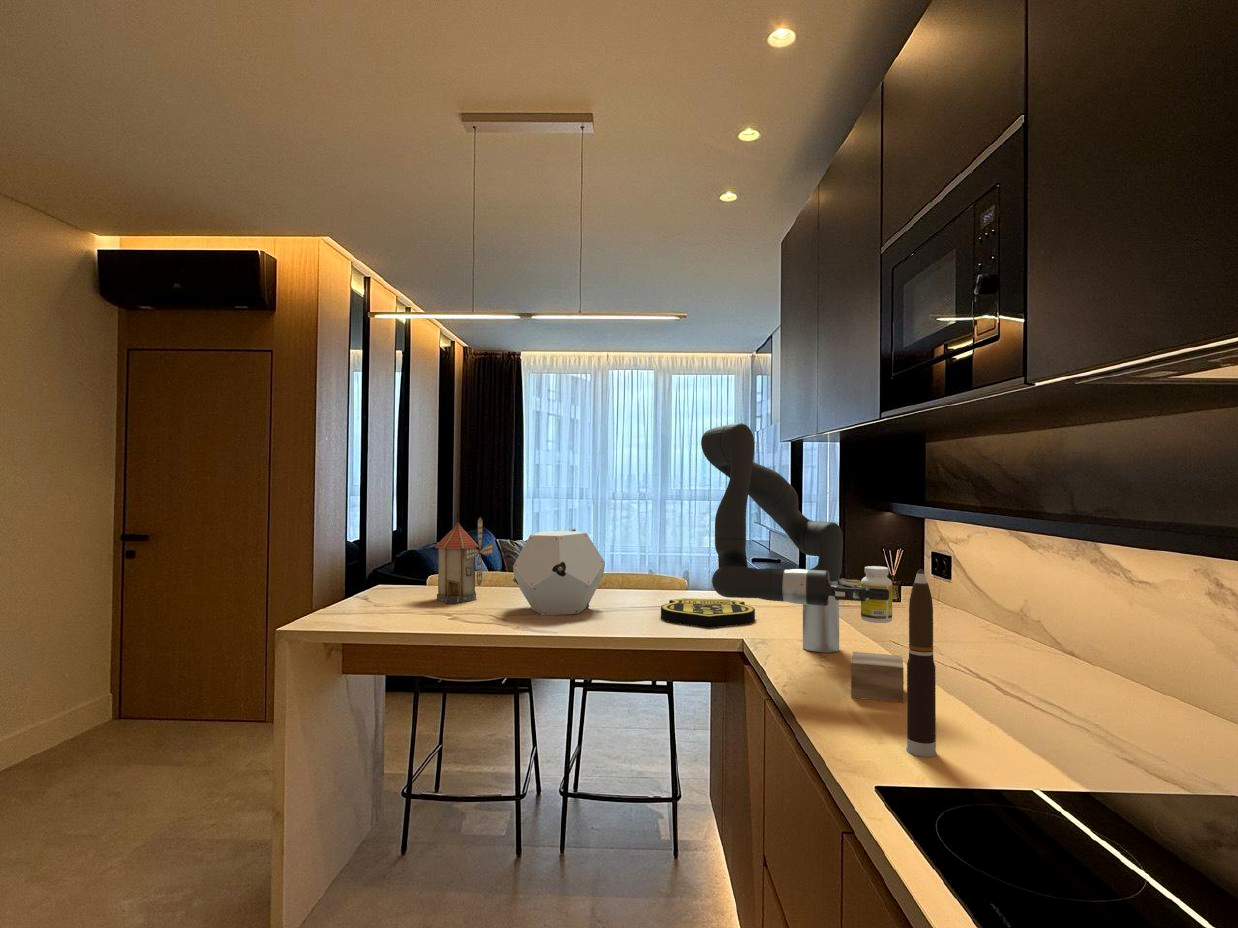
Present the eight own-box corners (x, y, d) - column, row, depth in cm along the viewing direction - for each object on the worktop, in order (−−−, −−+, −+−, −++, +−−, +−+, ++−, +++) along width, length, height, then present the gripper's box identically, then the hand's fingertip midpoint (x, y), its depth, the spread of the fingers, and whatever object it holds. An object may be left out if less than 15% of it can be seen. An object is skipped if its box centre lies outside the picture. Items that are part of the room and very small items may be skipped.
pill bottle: (876, 616, 153) (877, 564, 153) (898, 622, 147) (899, 568, 147) (854, 618, 150) (854, 566, 150) (875, 624, 145) (875, 569, 145)
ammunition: (929, 746, 119) (929, 567, 120) (941, 757, 115) (940, 570, 115) (902, 746, 119) (901, 566, 120) (912, 756, 115) (912, 570, 115)
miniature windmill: (482, 606, 244) (483, 518, 245) (425, 606, 244) (426, 518, 245) (493, 594, 269) (494, 514, 269) (441, 594, 268) (442, 514, 269)
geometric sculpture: (604, 627, 244) (633, 556, 233) (532, 644, 224) (560, 567, 212) (557, 574, 263) (583, 506, 251) (487, 585, 243) (511, 512, 231)
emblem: (658, 615, 213) (662, 597, 243) (658, 627, 213) (662, 608, 243) (758, 617, 210) (750, 599, 240) (758, 630, 210) (750, 611, 240)
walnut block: (852, 683, 155) (852, 651, 155) (902, 688, 151) (902, 655, 152) (850, 697, 146) (850, 662, 146) (903, 702, 142) (903, 667, 142)
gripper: (802, 573, 147) (889, 578, 141) (809, 565, 161) (888, 569, 155) (802, 609, 147) (889, 616, 141) (809, 598, 160) (888, 604, 155)
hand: (888, 592), depth 148 cm, fingers closed on pill bottle, 6 cm apart
